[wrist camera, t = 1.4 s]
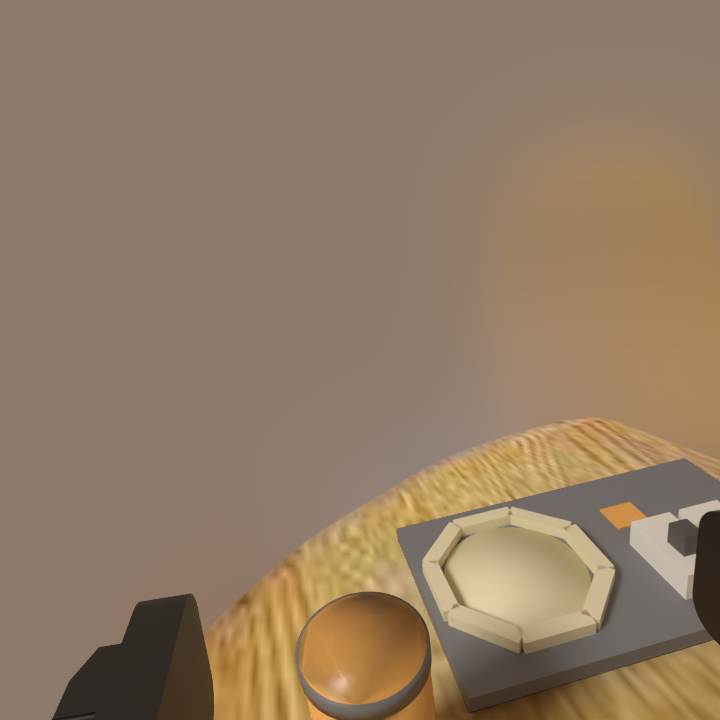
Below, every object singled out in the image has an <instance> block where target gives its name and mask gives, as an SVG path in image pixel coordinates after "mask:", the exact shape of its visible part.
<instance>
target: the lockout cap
mask: <svg viewBox="0 0 720 720" xmlns="http://www.w3.org/2000/svg"><path fill="white" fill-rule="evenodd" d="M296 665H297V670H298V674H299V678H300V682H301V686H302V688H303V691H304V693H305V695H306V696H307V700H308V704H309V709H310V713H311V717H312V720H436V713H435V704H434V696H433V687H432V678H431V670H430V669H431V647H430V638H429V632H428V629H427V626H426V624H425V622H424V620H423V618H422V617H421V615H420V614H419V612H418V611H417V610H416V609H415V608H414V607H413V606H411V605H410V604H409V603H407V602H406V601H404V600H402V599H400V598H398V597H396V596H393V595H390V594H386V593H381V592H359V593H354V594H349V595H346V596H343V597H340V598H338V599H335V600H334V601H332V602H330V603H328V604H327V605H325V606H324V607H322V608H321V609H320V610H318V611H317V612H316V613H315V614H314V615H313V616H312V617H311V618H310V619H309V621H308V622H307V623H306V625H305V626H304V628H303V630H302V632H301V634H300V636H299V639H298V642H297V646H296Z"/></svg>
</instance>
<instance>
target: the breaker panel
mask: <svg viewBox="0 0 720 720" xmlns="http://www.w3.org/2000/svg"><path fill="white" fill-rule="evenodd" d="M716 510H720V482H719V481H717V480H716V479H714V478H713V477H711V476H710V475H708V474H707V473H705V472H704V471H702V470H701V469H700V468H698V467H697V466H695V465H694V464H692V463H691V462H689V461H688V460H686V459H685V458H684V459H680V460H676V461H672V462H667V463H663V464H659V465H655V466H651V467H647V468H643V469H639V470H635V471H631V472H627V473H623V474H618V475H614V476H610V477H606V478H602V479H598V480H594V481H590V482H586V483H582V484H578V485H573V486H569V487H565V488H561V489H557V490H553V491H549V492H545V493H541V494H537V495H533V496H528V497H524V498H520V499H516V500H512V501H508V502H504V503H500V504H496V505H492V506H488V507H483V508H479V509H475V510H471V511H467V512H463V513H459V514H455V515H451V516H447V517H443V518H438V519H434V520H430V521H426V522H422V523H418V524H414V525H410V526H406V527H402V528H398V529H397V537H398V541H399V544H400V546H401V548H402V551H403V553H404V556H405V558H406V561H407V563H408V565H409V568H410V570H411V573H412V575H413V577H414V580H415V582H416V585H417V587H418V590H419V592H420V594H421V597H422V599H423V602H424V604H425V606H426V609H427V611H428V614H429V616H430V619H431V621H432V623H433V626H434V628H435V631H436V633H437V636H438V638H439V640H440V643H441V645H442V648H443V650H444V652H445V655H446V657H447V660H448V662H449V665H450V667H451V669H452V672H453V674H454V677H455V679H456V681H457V684H458V686H459V689H460V691H461V694H462V696H463V698H464V701H465V703H466V706H467V708H468V711H469V713H470V712H473V711H476V710H480V709H483V708H486V707H490V706H493V705H496V704H500V703H503V702H506V701H510V700H513V699H516V698H520V697H523V696H527V695H530V694H533V693H537V692H540V691H543V690H547V689H550V688H553V687H557V686H560V685H563V684H567V683H570V682H573V681H577V680H580V679H583V678H587V677H590V676H593V675H597V674H600V673H604V672H607V671H610V670H614V669H617V668H620V667H624V666H627V665H630V664H634V663H637V662H640V661H644V660H647V659H650V658H654V657H657V656H660V655H664V654H667V653H671V652H674V651H677V650H681V649H684V648H687V647H691V646H694V645H697V644H701V643H704V642H707V641H711V640H714V639H713V638H712V636H711V635H710V634H709V633H708V632H707V631H706V629H705V628H704V626H703V625H702V623H701V621H700V619H699V617H698V615H697V612H696V610H695V606H694V602H693V596H692V590H693V579H694V569H695V559H696V548H697V538H698V528H699V522H700V519H701V517H702V516H703V515H704V514H705V513H707V512H709V511H716Z"/></svg>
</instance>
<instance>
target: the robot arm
mask: <svg viewBox="0 0 720 720" xmlns="http://www.w3.org/2000/svg"><path fill="white" fill-rule="evenodd" d="M692 596H693V602H694V606H695V610H696V612H697V615H698V617H699V619H700V621H701V623H702V625H703V626H704V628H705V629H706V631H707V632H708V633H709V634H710V635H711V636H712V638H713V639H714V640H715V641H716V642H717V643H718V644H719V645H720V510H716V511H709V512H707V513H705V514H704V515H703V516H702V517H701V519H700V522H699V528H698V538H697V548H696V559H695V569H694V579H693V590H692ZM213 717H214V692H213V681H212V675H211V670H210V665H209V660H208V655H207V650H206V646H205V641H204V636H203V632H202V626H201V622H200V618H199V612H198V607H197V603H196V600H195V598H194V596H193V594H185V595H179V596H173V597H167V598H160V599H154V600H148V601H142V602H139V603H138V604H137V605H136V607H135V609H134V611H133V614H132V616H131V620H130V622H129V625H128V627H127V630H126V633H125V635H124V638H123V641H122V643H121V644H116V645H110V646H104V647H99V648H98V649H97V650H96V651H95V653H94V654H93V655H92V656H91V657H90V658H89V659H88V660H87V662H86V663H85V664H84V665H83V666H82V667H81V668H80V670H79V671H78V672H77V673H76V674H75V675H74V676H73V678H72V679H71V680H70V681H69V683H68V686H67V688H66V690H65V692H64V695H63V697H62V699H61V701H60V703H59V705H58V708H57V710H56V712H55V714H54V717H53V719H52V720H213Z"/></svg>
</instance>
